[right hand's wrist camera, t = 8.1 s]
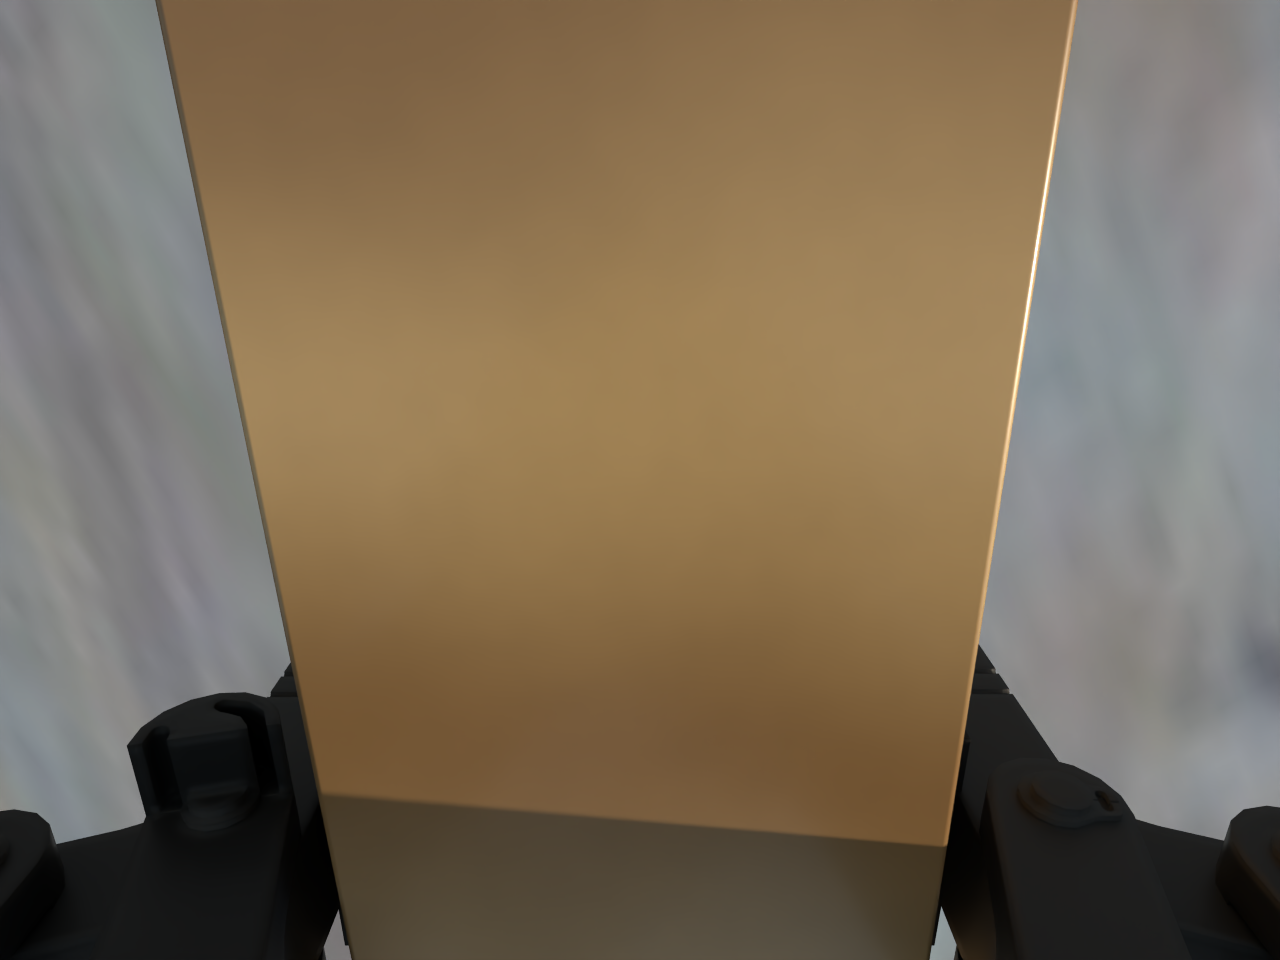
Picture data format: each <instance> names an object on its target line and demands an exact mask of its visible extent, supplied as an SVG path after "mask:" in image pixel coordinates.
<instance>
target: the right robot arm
mask: <svg viewBox="0 0 1280 960" xmlns="http://www.w3.org/2000/svg"><path fill="white" fill-rule="evenodd" d="M284 673H285V674H284V677H281V678H280V679H279V681H278V682H277V683H276V685H275V686H274V688H273V689H272V691H271V696H270V697H267V698H265V697H262V696H258V695H254V694H250V693H246V692H243V693H218V694H214V695H210V696H205V697H201V698H197V699H193V700H190V701H187V702H185V703H183V704H180V705H178V706H176V707H174V708H171V709H169V710H167V711H164V712H163V713H161V714H160V715H158V716H157V717H156V718H154V719H153V720H151V721H150V722H148V723H147V724H146V725H144V726H143V727H141V728H140V730H139V731H138V732H137V733H136V735H135V736H134V737H133V739H132V740H131V741H130V742H129V744H128V745H127V748H128V752H129V755H130V759H131V763H132V766H133V770H134V773H135V777H136V781H137V784H138V788H139V792H140V795H141V799H142V802H143V806H144V810H145V813H146V818H145V820H144V823H141V824H138V825H135V826H131V827H128V828H125V829H121V830H117V831H113V832H108V833H104V834H99V835H95V836H91V837H86V838H82V839H78V840H73V841H69V842H64V843H60V844H56V842H55V839H54V836H53V833H52V830H51V827H50V824H49V823H48V822H46V821H45V820H44V819H43V818H42V817H41V816H39V815H38V814H37V813H33V812H26V811H20V810H6V811H0V960H326V956H325V951H324V945H325V942H326V939H327V937H328V934H329V932H330V929H331V927H332V924H333V922H334V919H335V917H336V914H337V912H338V909H339V914H340V919H341V925H342V931H343V936H344V942H345V945H349V944H348V939H347V934H346V929H345V924H344V919H343V914H342V910H341V905H340V900H339V895H338V890H337V885H336V880H335V875H334V870H333V866H332V861H331V856H330V851H329V846H328V841H327V836H326V831H325V826H324V822H323V817H322V812H321V807H320V802H319V797H318V792H317V787H316V783H315V778H314V773H313V768H312V763H311V758H310V753H309V748H308V743H307V739H306V734H305V729H304V724H303V719H302V714H301V709H300V704H299V699H298V695H297V690H296V685H295V680H294V675H293V670H292V665H291V663H290V664H289V666H288V667H287V669H286V670H285V672H284ZM941 906H942V909H943V911H944V914H945V917H946V919H947V922H948V924H949V927H950V929H951V932H952V934H953V937H954V939H955V942H956V944H957V946H956V951H955V956H954V960H1280V808H1279V807H1272V806H1262V807H1256V808H1250V809H1244V810H1242V811H1241V812H1240V813H1239V814H1238V815H1237V816H1236V817H1234V818H1233V819H1232V820H1231V822H1230V825H1229V828H1228V831H1227V834H1226V837H1225V840H1224V841H1223V840H1218V839H1214V838H1209V837H1205V836H1201V835H1196V834H1192V833H1187V832H1183V831H1178V830H1174V829H1170V828H1165V827H1161V826H1157V825H1154V824H1150V823H1147V822H1143V821H1140V820H1137V819H1135V816H1134V814H1133V813H1132V811H1131V810H1130V808H1129V807H1128V805H1127V804H1126V802H1125V801H1124V799H1123V798H1122V797H1121V795H1119V794H1118V793H1117V792H1116V791H1114V790H1113V789H1112V788H1111V787H1109V786H1108V785H1107V784H1106V783H1105V782H1103V781H1102V780H1101V779H1099V778H1097V777H1095V776H1093V775H1091V774H1089V773H1087V772H1085V771H1083V770H1081V769H1079V768H1077V767H1075V766H1073V765H1069V764H1065V763H1061V762H1059V761H1058V760H1057V758H1056V757H1055V756H1054V754H1053V753H1052V751H1051V750H1050V748H1049V747H1048V745H1047V744H1046V742H1045V741H1044V739H1043V738H1042V736H1041V735H1040V734H1039V732H1038V731H1037V729H1036V728H1035V726H1034V725H1033V723H1032V722H1031V720H1030V719H1029V717H1028V716H1027V714H1026V713H1025V712H1024V710H1023V709H1022V707H1021V706H1020V704H1019V703H1018V701H1017V700H1016V698H1015V697H1014V695H1013V694H1009V688H1008V687H1007V685H1006V684H1005V682H1004V681H1003V679H1002V678H1001V676H1000V675H999V674H996V672H995V668H994V666H993V665H992V663H991V662H990V660H989V659H988V657H987V656H986V654H985V653H984V651H983V650H982V648H981V647H980V646H979V644H978V649H977V656H976V662H975V669H974V675H973V682H972V688H971V694H970V701H969V707H968V714H967V720H966V727H965V733H964V740H963V746H962V753H961V759H960V765H959V772H958V778H957V785H956V791H955V798H954V804H953V811H952V817H951V823H950V830H949V836H948V843H947V849H946V856H945V862H944V869H943V875H942V882H941V888H940V894H939V901H938V907H937V914H936V920H935V927H934V933H933V940H932V945H934V944H935V938H936V933H937V927H938V921H939V916H940V910H941Z"/></svg>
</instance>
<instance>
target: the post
mask: <svg viewBox="0 0 1280 960" xmlns="http://www.w3.org/2000/svg"><path fill="white" fill-rule="evenodd" d="M155 1H156V6H157V11H158V16H159V20H160V25H161V30H162V35H163V40H164V45H165V50H166V55H167V60H168V64H169V69H170V74H171V79H172V84H173V89H174V94H175V99H176V104H177V108H178V113H179V118H180V123H181V128H182V133H183V138H184V143H185V148H186V152H187V157H188V162H189V167H190V172H191V177H192V182H193V187H194V191H195V196H196V201H197V206H198V211H199V216H200V221H201V226H202V231H203V235H204V240H205V245H206V250H207V255H208V260H209V265H210V270H211V275H212V279H213V284H214V289H215V294H216V299H217V304H218V309H219V314H220V318H221V323H222V328H223V333H224V338H225V343H226V348H227V353H228V358H229V362H230V367H231V372H232V377H233V382H234V387H235V392H236V397H237V402H238V406H239V411H240V416H241V421H242V426H243V431H244V436H245V441H246V445H247V450H248V455H249V460H250V465H251V470H252V475H253V480H254V485H255V489H256V494H257V499H258V504H259V509H260V514H261V519H262V524H263V529H264V533H265V538H266V543H267V548H268V553H269V558H270V563H271V568H272V572H273V577H274V582H275V587H276V592H277V597H278V602H279V607H280V612H281V616H282V621H283V626H284V631H285V636H286V641H287V646H288V651H289V656H290V660H291V665H292V670H293V675H294V680H295V685H296V690H297V695H298V699H299V704H300V709H301V714H302V719H303V724H304V729H305V734H306V739H307V743H308V748H309V753H310V758H311V763H312V768H313V773H314V778H315V783H316V787H317V792H318V797H319V802H320V807H321V812H322V817H323V822H324V826H325V831H326V836H327V841H328V846H329V851H330V856H331V861H332V866H333V870H334V875H335V880H336V885H337V890H338V895H339V900H340V905H341V910H342V914H343V919H344V924H345V929H346V934H347V939H348V944H349V949H350V954H351V958H352V960H929V959H930V952H931V946H932V940H933V933H934V927H935V920H936V914H937V907H938V901H939V894H940V888H941V882H942V875H943V869H944V862H945V856H946V849H947V843H948V836H949V830H950V823H951V817H952V811H953V804H954V798H955V791H956V785H957V778H958V772H959V765H960V759H961V753H962V746H963V740H964V733H965V727H966V720H967V714H968V707H969V701H970V694H971V688H972V682H973V675H974V669H975V662H976V656H977V649H978V643H979V636H980V630H981V624H982V617H983V611H984V604H985V598H986V591H987V585H988V578H989V572H990V565H991V559H992V553H993V546H994V540H995V533H996V527H997V520H998V514H999V507H1000V501H1001V495H1002V488H1003V482H1004V475H1005V469H1006V462H1007V456H1008V449H1009V443H1010V436H1011V430H1012V424H1013V417H1014V411H1015V404H1016V398H1017V391H1018V385H1019V378H1020V372H1021V366H1022V359H1023V353H1024V346H1025V340H1026V333H1027V327H1028V320H1029V314H1030V308H1031V301H1032V295H1033V288H1034V282H1035V275H1036V269H1037V262H1038V256H1039V249H1040V243H1041V237H1042V230H1043V224H1044V217H1045V211H1046V204H1047V198H1048V191H1049V185H1050V179H1051V172H1052V166H1053V159H1054V153H1055V146H1056V140H1057V133H1058V127H1059V120H1060V114H1061V108H1062V101H1063V95H1064V88H1065V82H1066V75H1067V69H1068V62H1069V56H1070V50H1071V43H1072V37H1073V30H1074V24H1075V17H1076V11H1077V4H1078V0H155Z"/></svg>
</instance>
